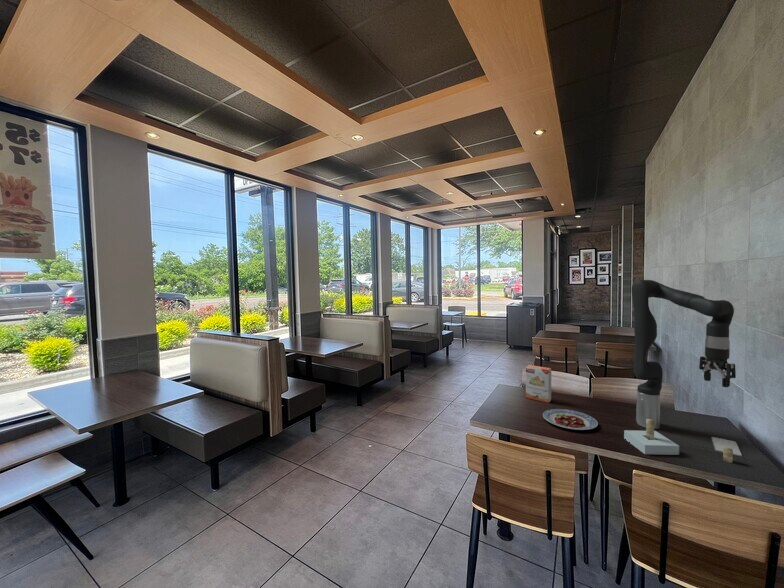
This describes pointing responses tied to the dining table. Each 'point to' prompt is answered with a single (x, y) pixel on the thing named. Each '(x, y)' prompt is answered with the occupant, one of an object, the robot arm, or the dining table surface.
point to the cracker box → (538, 383)
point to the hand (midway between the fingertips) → (716, 383)
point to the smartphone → (726, 445)
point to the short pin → (728, 455)
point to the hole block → (651, 443)
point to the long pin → (650, 429)
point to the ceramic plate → (570, 419)
